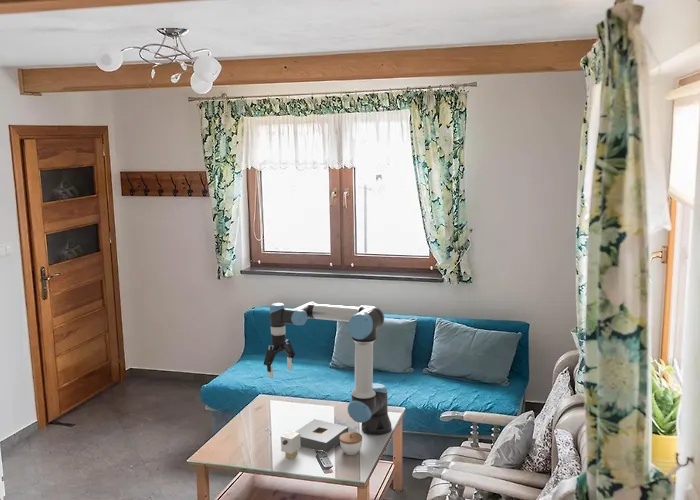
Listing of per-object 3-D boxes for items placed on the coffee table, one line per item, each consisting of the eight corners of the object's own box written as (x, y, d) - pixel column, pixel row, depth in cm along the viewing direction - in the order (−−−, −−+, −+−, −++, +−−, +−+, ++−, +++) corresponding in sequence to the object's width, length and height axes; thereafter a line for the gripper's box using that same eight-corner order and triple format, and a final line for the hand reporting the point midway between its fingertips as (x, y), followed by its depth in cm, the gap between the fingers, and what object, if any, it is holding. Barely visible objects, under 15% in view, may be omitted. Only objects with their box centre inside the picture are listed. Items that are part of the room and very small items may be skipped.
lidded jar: (355, 459, 318) (354, 440, 317) (335, 454, 324) (334, 435, 322) (366, 450, 327) (366, 431, 326) (347, 445, 333) (347, 426, 331)
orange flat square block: (327, 434, 340) (327, 433, 340) (321, 438, 335) (321, 437, 335) (319, 432, 342) (319, 431, 342) (313, 436, 338) (313, 435, 338)
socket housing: (348, 436, 343) (348, 426, 342) (326, 452, 326) (326, 442, 325) (314, 428, 353) (314, 419, 352) (291, 444, 336) (291, 434, 335)
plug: (301, 454, 325) (300, 433, 324) (290, 461, 318) (289, 440, 316) (290, 451, 328) (289, 430, 327) (279, 458, 321) (278, 437, 319)
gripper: (290, 326, 364) (292, 365, 367) (254, 338, 345) (257, 379, 349) (300, 328, 359) (302, 368, 363) (265, 341, 340) (267, 382, 344)
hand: (280, 373), depth 356 cm, fingers open, 13 cm apart
